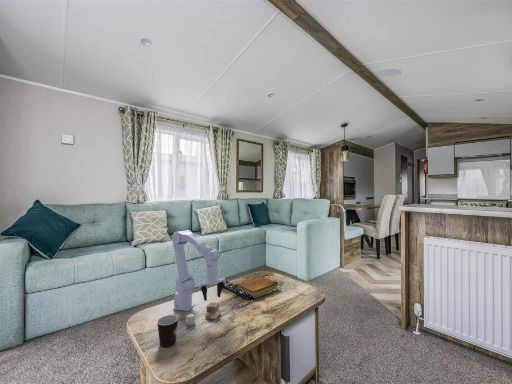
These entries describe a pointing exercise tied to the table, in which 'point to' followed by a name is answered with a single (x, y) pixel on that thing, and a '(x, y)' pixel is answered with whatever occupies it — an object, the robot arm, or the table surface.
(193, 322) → the pale green short cylinder
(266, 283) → the diary
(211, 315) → the oak base block
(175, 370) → the table surface
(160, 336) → the coffee mug
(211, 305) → the walnut top block
